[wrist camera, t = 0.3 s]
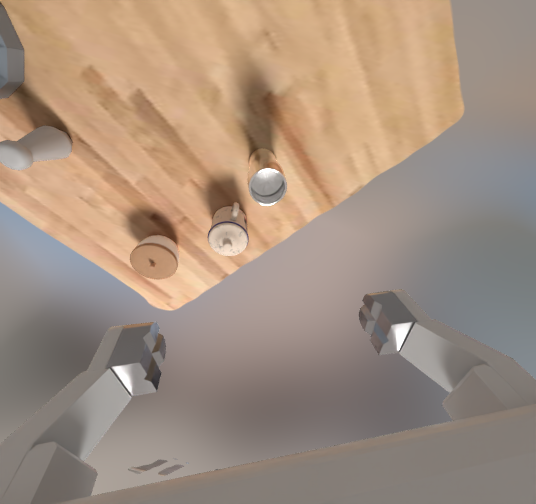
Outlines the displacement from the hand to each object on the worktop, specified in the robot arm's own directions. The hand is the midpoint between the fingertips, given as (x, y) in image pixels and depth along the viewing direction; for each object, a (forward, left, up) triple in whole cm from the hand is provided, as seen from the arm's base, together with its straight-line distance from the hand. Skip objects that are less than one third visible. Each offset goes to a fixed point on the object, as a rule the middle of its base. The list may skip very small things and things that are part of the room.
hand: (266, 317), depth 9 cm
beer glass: (+7, +3, -48) cm, 48 cm away
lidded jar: (+28, -24, -48) cm, 61 cm away
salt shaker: (+2, -37, -48) cm, 61 cm away
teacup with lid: (+20, -5, -48) cm, 52 cm away
